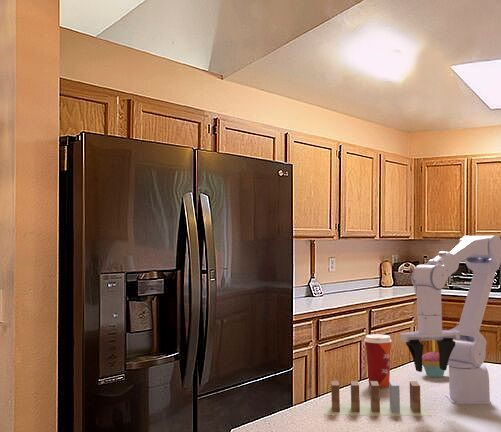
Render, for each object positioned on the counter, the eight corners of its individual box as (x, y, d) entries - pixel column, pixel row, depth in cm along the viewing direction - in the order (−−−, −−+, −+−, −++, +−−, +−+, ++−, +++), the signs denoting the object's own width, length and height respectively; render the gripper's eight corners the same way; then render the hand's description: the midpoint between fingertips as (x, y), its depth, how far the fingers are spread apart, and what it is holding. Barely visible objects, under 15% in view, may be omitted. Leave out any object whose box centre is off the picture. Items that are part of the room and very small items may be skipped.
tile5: (339, 406, 152) (338, 380, 152) (339, 411, 147) (339, 385, 148) (331, 406, 152) (331, 380, 152) (332, 411, 148) (331, 385, 148)
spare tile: (397, 407, 150) (396, 381, 151) (400, 412, 146) (399, 385, 146) (389, 407, 151) (389, 381, 151) (392, 412, 146) (391, 385, 146)
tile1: (417, 407, 150) (416, 381, 150) (420, 412, 146) (420, 385, 146) (410, 407, 150) (409, 381, 150) (413, 412, 146) (412, 385, 146)
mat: (424, 406, 152) (424, 404, 152) (431, 417, 143) (431, 415, 143) (323, 405, 154) (323, 404, 154) (324, 415, 146) (324, 414, 146)
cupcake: (418, 372, 188) (417, 333, 189) (447, 372, 187) (446, 333, 187) (422, 379, 180) (421, 338, 180) (452, 379, 179) (451, 338, 179)
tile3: (378, 407, 151) (377, 381, 151) (380, 412, 146) (379, 385, 147) (370, 407, 151) (370, 381, 151) (372, 412, 147) (371, 385, 147)
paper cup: (393, 389, 169) (392, 338, 169) (365, 388, 170) (363, 338, 171) (392, 382, 176) (391, 333, 177) (365, 381, 178) (364, 333, 178)
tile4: (358, 406, 151) (357, 381, 152) (359, 412, 147) (359, 385, 147) (351, 406, 152) (350, 380, 152) (352, 412, 147) (351, 385, 147)
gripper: (449, 310, 153) (450, 365, 153) (394, 313, 151) (396, 368, 150) (463, 314, 146) (465, 371, 146) (406, 316, 144) (408, 374, 143)
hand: (431, 370), depth 148 cm, fingers open, 6 cm apart
